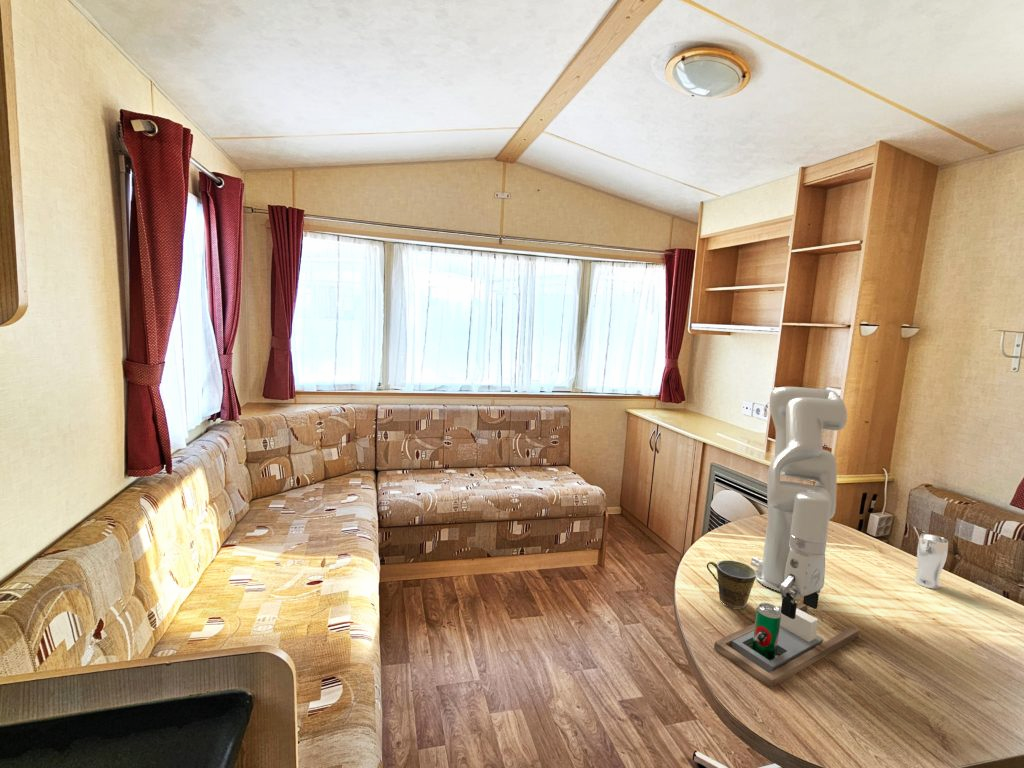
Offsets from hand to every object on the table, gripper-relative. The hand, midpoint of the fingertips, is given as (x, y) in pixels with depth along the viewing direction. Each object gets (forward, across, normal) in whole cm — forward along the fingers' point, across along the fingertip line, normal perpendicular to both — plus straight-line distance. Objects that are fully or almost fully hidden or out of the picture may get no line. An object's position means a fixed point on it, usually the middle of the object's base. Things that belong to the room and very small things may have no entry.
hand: (799, 611), depth 120 cm
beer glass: (+7, +67, -3) cm, 67 cm away
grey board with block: (+8, -7, +1) cm, 11 cm away
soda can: (+8, -12, +1) cm, 15 cm away
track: (+8, -1, +1) cm, 8 cm away
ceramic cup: (+8, +1, +20) cm, 21 cm away
